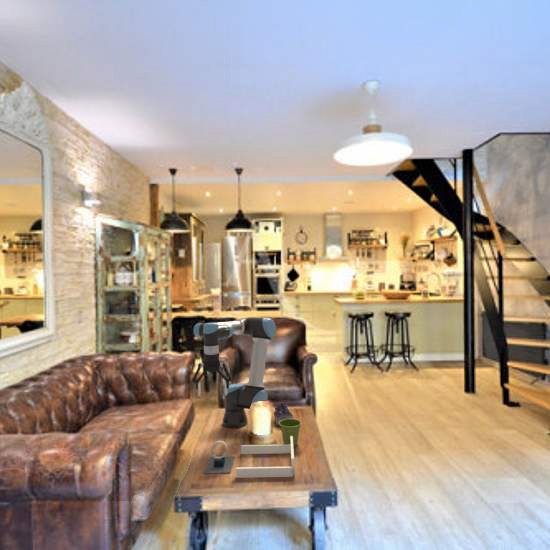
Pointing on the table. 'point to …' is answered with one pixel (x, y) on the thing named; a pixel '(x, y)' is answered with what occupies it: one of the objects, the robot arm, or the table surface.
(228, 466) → the mat
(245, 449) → the shelf lane
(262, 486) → the table surface
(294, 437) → the plant pot
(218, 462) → the watch
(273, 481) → the table surface
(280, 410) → the geode
